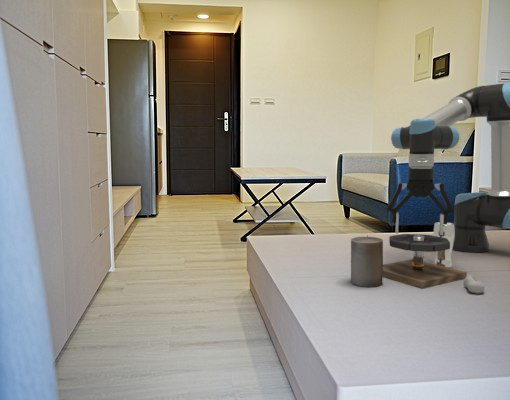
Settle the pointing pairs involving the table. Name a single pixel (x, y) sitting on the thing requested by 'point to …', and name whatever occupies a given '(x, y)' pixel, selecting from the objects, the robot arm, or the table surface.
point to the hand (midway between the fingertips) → (418, 233)
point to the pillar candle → (366, 261)
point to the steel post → (418, 256)
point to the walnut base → (421, 274)
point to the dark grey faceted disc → (419, 243)
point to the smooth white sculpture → (473, 284)
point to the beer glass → (448, 232)
